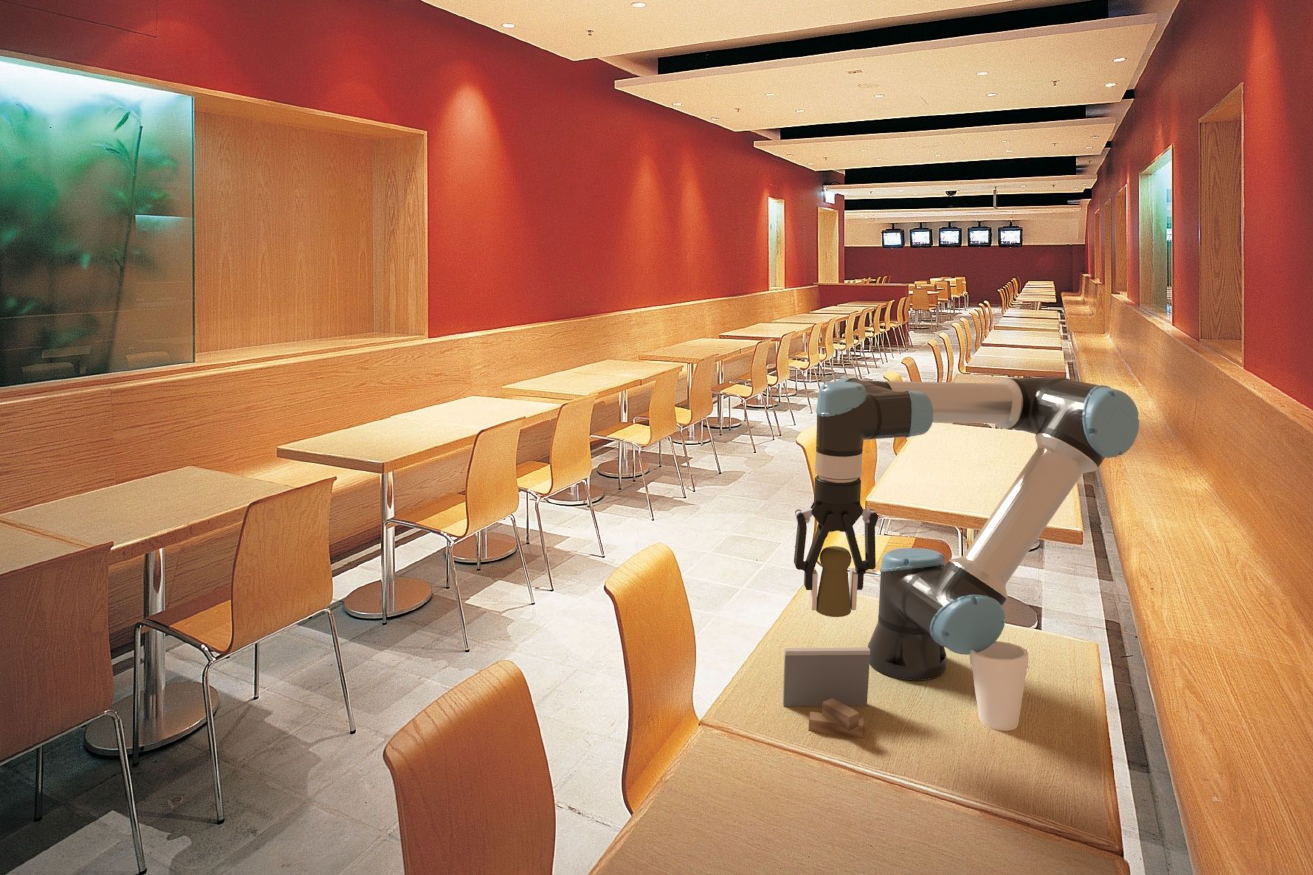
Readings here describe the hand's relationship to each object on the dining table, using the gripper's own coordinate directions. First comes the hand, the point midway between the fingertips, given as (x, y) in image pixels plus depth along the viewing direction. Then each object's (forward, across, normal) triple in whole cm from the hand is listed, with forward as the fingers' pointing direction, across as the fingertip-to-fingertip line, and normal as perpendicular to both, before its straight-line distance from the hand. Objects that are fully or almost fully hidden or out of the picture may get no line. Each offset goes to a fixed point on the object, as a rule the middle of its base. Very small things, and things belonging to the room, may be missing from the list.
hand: (832, 606), depth 147 cm
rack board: (+21, 0, -4) cm, 21 cm away
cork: (0, 0, 0) cm, 1 cm away
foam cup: (+21, -29, +1) cm, 36 cm away
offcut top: (+19, -1, +5) cm, 19 cm away
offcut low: (+21, 0, +5) cm, 22 cm away
